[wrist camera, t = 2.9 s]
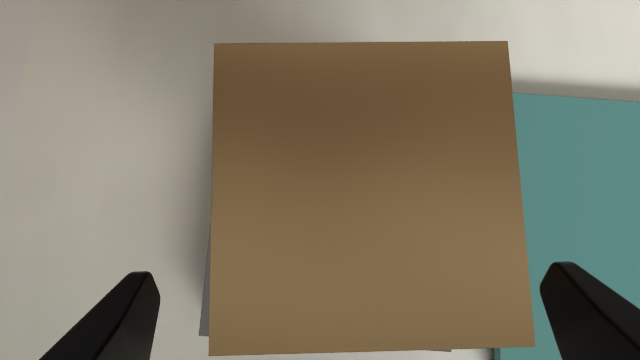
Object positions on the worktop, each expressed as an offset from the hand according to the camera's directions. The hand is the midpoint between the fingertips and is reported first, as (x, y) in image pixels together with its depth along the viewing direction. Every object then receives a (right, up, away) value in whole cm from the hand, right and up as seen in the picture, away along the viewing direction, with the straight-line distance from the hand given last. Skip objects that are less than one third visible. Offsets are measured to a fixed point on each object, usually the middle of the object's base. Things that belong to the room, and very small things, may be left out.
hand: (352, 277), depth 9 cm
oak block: (0, +1, +7) cm, 7 cm away
